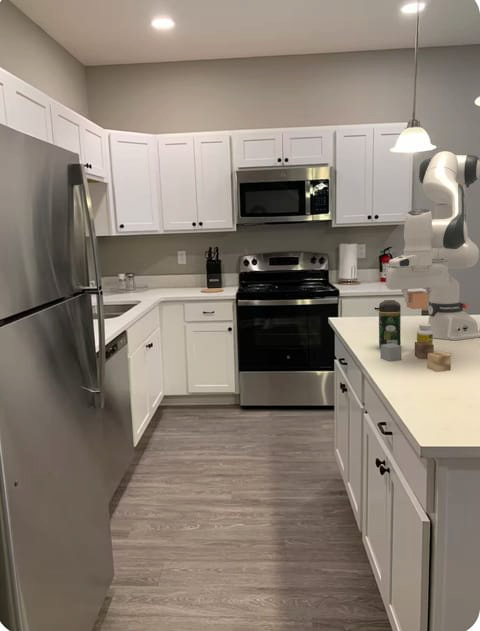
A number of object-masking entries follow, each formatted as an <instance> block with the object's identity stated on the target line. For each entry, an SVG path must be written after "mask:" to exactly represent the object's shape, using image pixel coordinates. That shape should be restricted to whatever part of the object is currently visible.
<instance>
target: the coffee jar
mask: <svg viewBox="0 0 480 631" xmlns="http://www.w3.org/2000/svg"><path fill="white" fill-rule="evenodd" d="M401 307H402V306H401V303H400V302H398V301H396V300H395V299H387V300H386V299H385V300H383V301H382V302H380V303H379V304H378V347H379V350H381V345H384V344H391V343H393V344H396V345H400V346H402V345H401V342H402V341H401V329H402V328H401V325H402V324H401V321H402V320H401V313H402V312H401Z"/></svg>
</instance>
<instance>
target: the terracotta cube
mask: <svg viewBox="0 0 480 631" xmlns="http://www.w3.org/2000/svg"><path fill="white" fill-rule="evenodd" d="M406 293H407V295H408V297H411V302H408V303H406V308H409V309H412V310H421V309H422V310H423V309H429V301H428V293H427V292H425V291H408V292H406Z"/></svg>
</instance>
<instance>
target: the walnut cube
mask: <svg viewBox="0 0 480 631" xmlns="http://www.w3.org/2000/svg"><path fill="white" fill-rule="evenodd" d="M434 347H435V345H434V344H433V343H431V342H417V341H414V356H415V358H417V359H418V360H425V359H426V360H427V359H428V353H434V352H435V351H434V350H435V348H434Z"/></svg>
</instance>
